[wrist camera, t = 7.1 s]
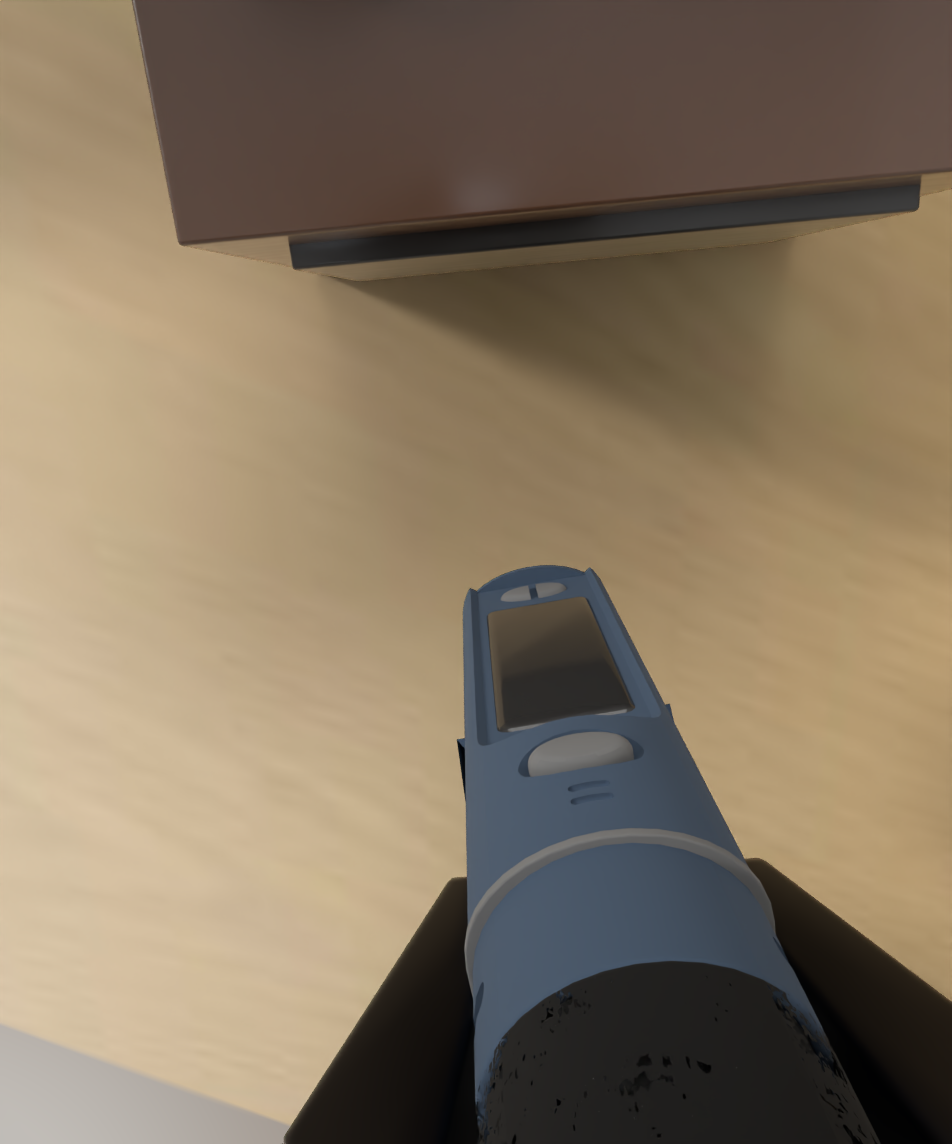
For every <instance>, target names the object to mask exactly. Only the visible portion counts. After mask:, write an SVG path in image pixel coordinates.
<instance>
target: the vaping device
mask: <svg viewBox="0 0 952 1144" xmlns="http://www.w3.org/2000/svg"><path fill="white" fill-rule="evenodd" d="M463 656H464V719H465V738H463V739H457V744H458V751H459V758H460V765H461V772H462V779H463V786H464V794H465V801H466V845H467V908H468V926H467V932H466V938H465V945H464V952H465V962H466V971H467V975H468V979H469V984H470V988H471V992H472V997H473V1016H474V1028H475V1037H474V1061H475V1102H476V1123H477V1122H478V1126H477V1131H478V1137H477V1138H476V1140H478V1142H479V1144H858V1143H859V1144H860V1142H861V1141H862V1142H861V1144H862V1143H863V1144H876V1142H877V1144H881V1143H880V1141H879V1139H878V1137H877V1135H876V1133H875V1131H874V1129H873V1127H872V1125H871V1123H870V1121H869V1119H868V1117H867V1116H866V1114H865V1112H864V1110H863V1108H862V1106H861V1104H860V1102H859V1100H858V1098H857V1096H856V1094H855V1092H854V1090H853V1088H852V1086H851V1084H850V1082H849V1080H848V1078H847V1076H846V1074H845V1072H844V1070H843V1068H842V1066H841V1064H840V1062H839V1060H838V1058H837V1056H836V1054H835V1052H834V1050H832V1049H833V1048H832V1046H831V1045H830V1044H829V1041H828V1038H827V1036H826V1034H825V1033H824V1031H823V1028H822V1026H821V1024H820V1022H819V1020H818V1018H817V1016H816V1014H815V1012H814V1010H813V1008H812V1006H811V1004H810V1002H809V1000H808V998H807V996H806V994H805V992H804V990H803V988H802V986H801V984H800V982H799V980H798V978H797V976H796V974H795V972H794V970H793V969H792V967H791V966H790V964H789V962H788V960H787V957H786V955H785V953H784V950H783V948H782V946H781V944H780V942H779V940H778V938H777V936H776V932H775V920H774V915H773V910H772V905H771V902H770V900H769V898H768V896H767V894H766V892H765V890H764V888H763V886H762V884H761V882H760V880H759V879H758V878H757V877H756V875H755V874H754V873H753V872H752V871H751V870H750V868H749V867H748V865H747V863H746V861H745V859H744V857H743V855H742V853H741V851H740V849H739V847H738V846H737V844H736V842H735V840H734V838H733V836H732V834H731V832H730V830H729V828H728V826H727V824H726V822H725V820H724V818H723V816H722V814H721V813H720V811H719V809H718V807H717V805H716V803H715V801H714V799H713V797H712V795H711V793H710V791H709V789H708V787H707V785H706V783H705V781H704V780H703V778H702V776H701V774H700V772H699V770H698V768H697V766H696V764H695V762H694V760H693V758H692V756H691V754H690V752H689V750H688V748H687V747H686V745H685V743H684V741H683V739H682V737H681V735H680V733H679V731H678V729H677V727H676V725H675V723H674V720H673V716H672V711H671V707H670V704H666V705H665V704H664V702H663V700H662V698H661V696H660V694H659V692H658V690H657V688H656V686H655V684H654V682H653V681H652V679H651V677H650V675H649V673H648V671H647V669H646V667H645V665H644V663H643V661H642V659H641V657H640V655H639V653H638V651H637V649H636V648H635V646H634V644H633V642H632V640H631V638H630V636H629V634H628V632H627V630H626V628H625V626H624V624H623V622H622V620H621V618H620V616H619V615H618V613H617V611H616V609H615V607H614V605H613V603H612V601H611V599H610V597H609V595H608V593H607V591H606V589H605V587H604V585H603V583H602V582H601V580H600V578H599V577H598V576H597V574H596V573H595V572H594V571H593V570H592V569H591V568H590V567H589V568H588V569H587V570H586V572H582V571H580V570H577V569H573V568H569V567H565V566H555V565H540V566H532V567H526V568H521V569H517V570H514V571H511V572H508V573H505V574H503V575H500V576H498V577H496V578H494V579H492V580H491V581H489V582H488V583H486V584H485V585H483V586H482V587H481V588H480V589H479V590H478V591H475V590H473V589H471V588H470V589H469V591H468V593H467V596H466V599H465V601H464V607H463ZM830 1046H831V1047H830ZM833 1055H834V1056H835V1058H836V1059H835V1058H834V1056H833ZM835 1074H836V1076H835ZM834 1093H835V1094H834ZM837 1096H838V1097H837ZM854 1099H855V1100H854ZM839 1104H840V1105H839ZM842 1104H843V1105H842ZM845 1109H846V1110H847V1111H845ZM842 1111H843V1113H842ZM846 1113H847V1114H846ZM857 1117H858V1118H857ZM857 1128H858V1129H859V1130H860V1132H861V1133H859V1131H858V1129H857ZM850 1130H851V1131H850ZM851 1132H852V1133H853V1135H852V1133H851ZM871 1134H872V1135H871ZM854 1136H855V1137H856V1140H857V1142H858V1141H859V1142H858V1143H857V1142H856V1141H855V1139H854ZM857 1136H858V1137H859V1138H860V1139H861V1140H859V1138H858V1137H857ZM872 1136H873V1137H874V1138H873V1137H872ZM875 1141H876V1142H875Z"/></svg>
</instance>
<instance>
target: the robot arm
mask: <svg viewBox="0 0 952 1144" xmlns="http://www.w3.org/2000/svg"><path fill="white" fill-rule="evenodd" d="M745 861H746V863H747V865H748V867H749V868H750V870H751V871H752V872H753V873H754V874H755V875H756V877H757V878H758V879H759V880H760V882H761V884H762V886H763V888H764V890H765V892H766V894H767V896H768V898H769V900H770V902H771V905H772V910H773V915H774V920H775V932H776V936H777V938H778V940H779V942H780V944H781V946H782V948H783V950H784V953H785V955H786V957H787V960H788V962H789V964H790V966H791V967H792V969H793V970H794V972H795V974H796V976H797V978H798V980H799V982H800V984H801V986H802V988H803V990H804V992H805V994H806V996H807V998H808V1000H809V1002H810V1004H811V1006H812V1008H813V1010H814V1012H815V1014H816V1016H817V1018H818V1020H819V1022H820V1024H821V1026H822V1028H823V1031H824V1033H825V1034H826V1036H827V1038H828V1041H829V1044H830V1045H831V1046H832V1048H833V1049H832V1050H834V1052H835V1054H836V1056H837V1058H838V1060H839V1062H840V1064H841V1066H842V1068H843V1070H844V1072H845V1074H846V1076H847V1078H848V1080H849V1082H850V1084H851V1086H852V1088H853V1090H854V1092H855V1094H856V1096H857V1098H858V1100H859V1102H860V1104H861V1106H862V1108H863V1110H864V1112H865V1114H866V1116H867V1117H868V1119H869V1121H870V1123H871V1125H872V1127H873V1129H874V1131H875V1133H876V1135H877V1137H878V1139H879V1141H880V1143H881V1144H952V1002H951V1001H950V1000H948V999H947V998H946V997H944V996H943V995H942V994H940V993H939V992H938V991H936V990H935V989H934V988H932V987H931V986H930V985H929V984H927V983H926V982H925V981H923V980H922V979H921V978H919V977H918V976H917V975H915V974H914V973H913V972H911V971H910V970H909V969H907V968H906V967H905V966H903V965H902V964H901V963H899V962H898V961H897V960H896V959H894V958H893V957H892V956H890V955H889V954H888V953H886V952H885V951H884V950H882V949H881V948H880V947H878V946H877V945H876V944H874V943H873V942H872V941H870V940H869V939H868V938H867V937H865V936H864V935H863V934H861V933H860V932H859V931H857V930H856V929H855V928H853V927H852V926H851V925H849V924H848V923H847V922H845V921H844V920H843V919H841V918H840V917H839V916H837V915H836V914H835V913H834V912H832V911H831V910H830V909H828V908H827V907H826V906H824V905H823V904H822V903H820V902H819V901H818V900H816V899H815V898H814V897H812V896H811V895H810V894H808V893H807V892H806V891H804V890H803V889H802V888H801V887H799V886H798V885H797V884H795V883H794V882H793V881H791V880H790V879H789V878H787V877H786V876H785V875H783V874H782V873H781V872H779V871H778V870H777V869H775V868H774V867H773V866H772V865H770V864H769V863H768V862H766V861H764V860H762V859H760V858H749V859H745ZM467 926H468V908H467V877H457V878H452V879H451V880H450V881H448V883H447V884H446V886H445V887H444V889H443V891H442V892H441V894H440V895H439V897H438V898H437V900H436V901H435V903H434V905H433V906H432V908H431V909H430V911H429V912H428V914H427V915H426V917H425V919H424V920H423V922H422V923H421V925H420V926H419V928H418V929H417V931H416V932H415V934H414V936H413V937H412V939H411V940H410V942H409V943H408V945H407V946H406V948H405V950H404V951H403V953H402V954H401V956H400V957H399V959H398V960H397V962H396V964H395V965H394V967H393V968H392V970H391V971H390V973H389V974H388V976H387V978H386V979H385V981H384V982H383V984H382V985H381V987H380V988H379V990H378V991H377V993H376V995H375V996H374V998H373V999H372V1001H371V1002H370V1004H369V1005H368V1007H367V1009H366V1010H365V1012H364V1013H363V1015H362V1016H361V1018H360V1019H359V1021H358V1023H357V1024H356V1026H355V1027H354V1029H353V1030H352V1032H351V1033H350V1035H349V1037H348V1038H347V1040H346V1041H345V1043H344V1044H343V1046H342V1047H341V1049H340V1050H339V1052H338V1054H337V1055H336V1057H335V1058H334V1060H333V1061H332V1063H331V1064H330V1066H329V1068H328V1069H327V1071H326V1072H325V1074H324V1075H323V1077H322V1078H321V1080H320V1082H319V1083H318V1085H317V1086H316V1088H315V1089H314V1091H313V1092H312V1094H311V1095H310V1097H309V1099H308V1100H307V1102H306V1103H305V1105H304V1106H303V1108H302V1109H301V1111H300V1113H299V1114H298V1116H297V1117H296V1119H295V1120H294V1122H293V1123H292V1125H291V1127H290V1128H289V1130H288V1131H287V1133H286V1134H285V1136H284V1144H479V1142H478V1140H476V1138H477V1137H478V1131H477V1126H478V1122H477V1123H476V1102H475V1061H474V1037H475V1028H474V1016H473V997H472V992H471V988H470V984H469V979H468V975H467V971H466V962H465V952H464V945H465V938H466V932H467ZM831 1046H830V1047H831ZM833 1056H834V1055H833ZM834 1058H835V1056H834ZM835 1059H836V1058H835ZM835 1076H836V1074H835ZM834 1094H835V1093H834ZM837 1097H838V1096H837ZM854 1100H855V1099H854ZM839 1105H840V1104H839ZM842 1105H843V1104H842ZM845 1111H847V1110H846V1109H845ZM842 1113H843V1111H842ZM846 1114H847V1113H846ZM857 1118H858V1117H857ZM857 1129H858V1128H857ZM850 1131H851V1130H850ZM858 1131H859V1133H861V1132H860V1130H859V1129H858ZM851 1133H852V1132H851ZM852 1135H853V1133H852ZM871 1135H872V1134H871ZM857 1137H858V1136H857ZM872 1137H873V1136H872ZM858 1138H859V1137H858ZM873 1138H874V1137H873ZM854 1139H855V1141H856V1142H857V1140H856V1137H855V1136H854ZM859 1140H861V1139H860V1138H859ZM858 1142H859V1141H858ZM858 1142H857V1143H858ZM861 1142H862V1141H861ZM861 1142H860V1144H861ZM875 1142H876V1141H875ZM858 1144H859V1143H858ZM862 1144H863V1143H862ZM876 1144H877V1142H876Z"/></svg>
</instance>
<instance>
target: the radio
mask: <svg viewBox="0 0 952 1144" xmlns="http://www.w3.org/2000/svg"><path fill="white" fill-rule="evenodd" d="M132 4H133V9H134V14H135V20H136V25H137V30H138V35H139V40H140V46H141V51H142V56H143V61H144V66H145V72H146V77H147V82H148V87H149V93H150V98H151V103H152V108H153V113H154V119H155V124H156V129H157V134H158V140H159V145H160V150H161V155H162V160H163V166H164V171H165V176H166V181H167V187H168V192H169V197H170V202H171V207H172V213H173V218H174V223H175V228H176V233H177V239H178V242H179V244H180V245H182V246H186V247H191V248H196V249H201V250H206V251H211V252H217V253H222V254H227V255H232V256H237V257H242V258H248V259H253V260H258V261H263V262H268V263H273V264H279V265H284V266H289V267H293V269H295V270H299V271H305V272H310V273H316V274H321V275H327V276H332V277H337V278H343V279H348V280H354V281H367V280H377V279H388V278H399V277H409V276H420V275H430V274H441V273H452V272H462V271H473V270H484V269H494V268H505V267H515V266H526V265H537V264H547V263H558V262H569V261H579V260H590V259H600V258H611V257H622V256H632V255H643V254H654V253H664V252H675V251H685V250H696V249H707V248H717V247H728V246H739V245H749V244H760V243H768V242H773V241H778V240H782V239H787V238H792V237H796V236H801V235H806V234H811V233H815V232H820V231H825V230H829V229H834V228H839V227H843V226H848V225H853V224H857V223H862V222H867V221H872V220H876V219H881V218H886V217H890V216H895V215H900V214H904V213H909V212H914V211H916V210H918V208H919V200H920V196H924V195H928V194H932V193H936V192H940V191H944V190H948V189H952V0H132Z"/></svg>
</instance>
